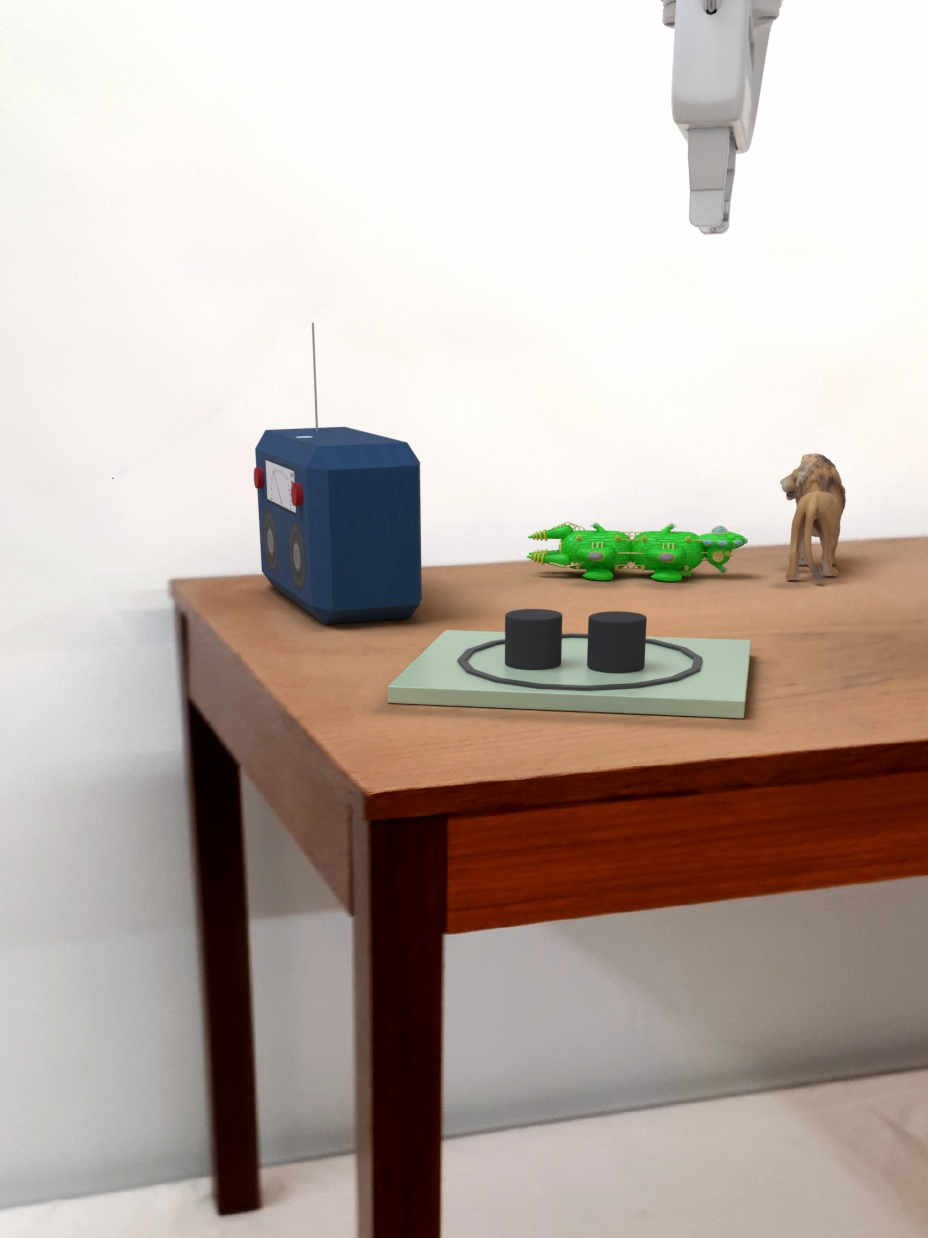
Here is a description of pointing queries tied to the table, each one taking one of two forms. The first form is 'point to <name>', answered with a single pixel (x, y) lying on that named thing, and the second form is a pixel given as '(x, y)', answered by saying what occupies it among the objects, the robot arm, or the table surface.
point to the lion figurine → (814, 513)
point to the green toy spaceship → (636, 550)
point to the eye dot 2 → (616, 642)
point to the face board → (580, 677)
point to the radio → (340, 521)
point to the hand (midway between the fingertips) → (709, 231)
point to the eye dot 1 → (533, 639)
